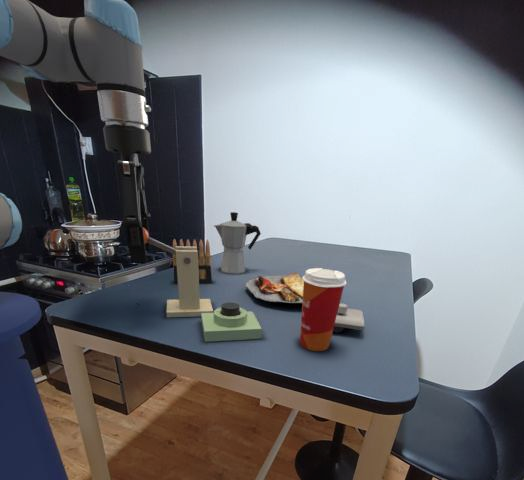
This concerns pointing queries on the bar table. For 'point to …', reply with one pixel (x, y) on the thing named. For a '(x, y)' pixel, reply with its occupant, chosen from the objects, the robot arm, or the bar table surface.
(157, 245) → the switch lever
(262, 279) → the food plate
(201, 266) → the ammunition clip
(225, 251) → the coffee maker
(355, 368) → the bar table surface
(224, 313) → the button
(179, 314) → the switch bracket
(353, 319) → the light switch
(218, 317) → the button block
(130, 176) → the robot arm
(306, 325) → the paper cup
